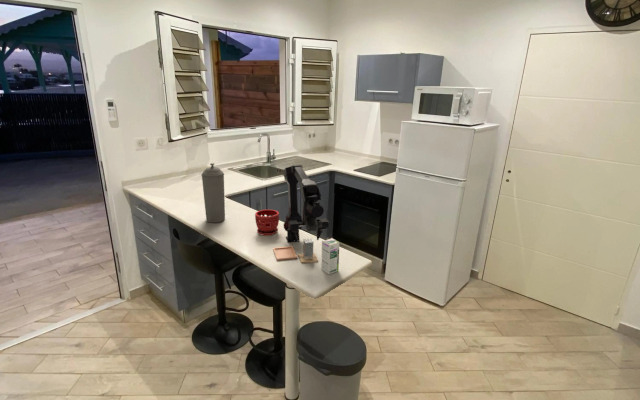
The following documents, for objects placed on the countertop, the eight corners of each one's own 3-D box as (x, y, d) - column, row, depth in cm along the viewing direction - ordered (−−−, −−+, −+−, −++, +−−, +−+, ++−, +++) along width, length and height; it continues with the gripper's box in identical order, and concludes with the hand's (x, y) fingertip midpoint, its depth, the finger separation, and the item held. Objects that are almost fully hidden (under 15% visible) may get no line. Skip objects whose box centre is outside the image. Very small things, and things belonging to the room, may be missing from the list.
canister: (216, 214, 221) (212, 160, 210) (231, 219, 215) (228, 163, 204) (200, 220, 211) (195, 163, 200) (215, 225, 205) (211, 166, 194)
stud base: (298, 255, 172) (298, 251, 171) (313, 254, 174) (313, 249, 173) (301, 263, 165) (301, 258, 164) (318, 261, 167) (318, 257, 166)
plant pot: (283, 231, 200) (283, 211, 196) (269, 239, 189) (268, 218, 185) (265, 226, 206) (265, 207, 202) (250, 233, 195) (250, 213, 191)
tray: (273, 249, 177) (273, 247, 177) (292, 247, 180) (292, 246, 180) (276, 260, 166) (276, 258, 166) (297, 258, 169) (297, 256, 169)
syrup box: (328, 274, 156) (329, 245, 151) (320, 269, 160) (321, 240, 156) (338, 271, 159) (340, 242, 154) (330, 265, 163) (331, 237, 159)
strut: (303, 252, 170) (303, 239, 168) (311, 251, 171) (311, 238, 169) (304, 256, 166) (305, 243, 164) (313, 255, 167) (313, 242, 165)
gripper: (292, 217, 152) (292, 250, 157) (333, 214, 157) (332, 246, 162) (287, 209, 162) (287, 239, 167) (326, 206, 167) (325, 236, 172)
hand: (308, 240), depth 167 cm, fingers open, 9 cm apart
